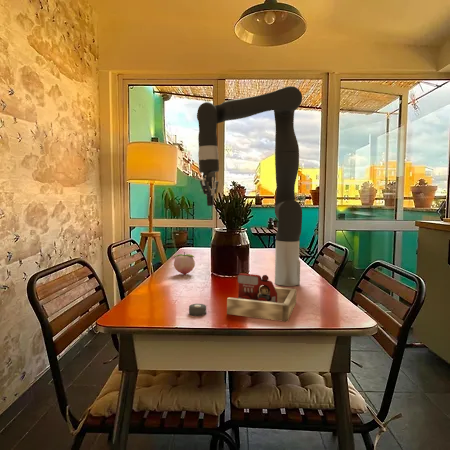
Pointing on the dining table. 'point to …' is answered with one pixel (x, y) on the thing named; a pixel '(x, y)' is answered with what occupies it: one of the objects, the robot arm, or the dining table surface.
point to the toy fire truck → (256, 288)
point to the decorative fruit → (184, 263)
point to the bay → (265, 306)
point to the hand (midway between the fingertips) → (210, 205)
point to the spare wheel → (197, 309)
